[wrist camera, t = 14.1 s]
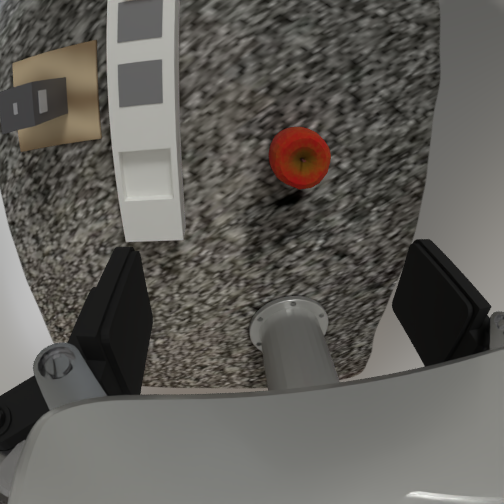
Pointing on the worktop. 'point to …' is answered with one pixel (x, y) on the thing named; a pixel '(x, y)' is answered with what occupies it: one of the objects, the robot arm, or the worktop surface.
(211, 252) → the worktop surface
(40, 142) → the coaster
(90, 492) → the robot arm
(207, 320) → the worktop surface
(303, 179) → the apple
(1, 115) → the block
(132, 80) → the power strip
